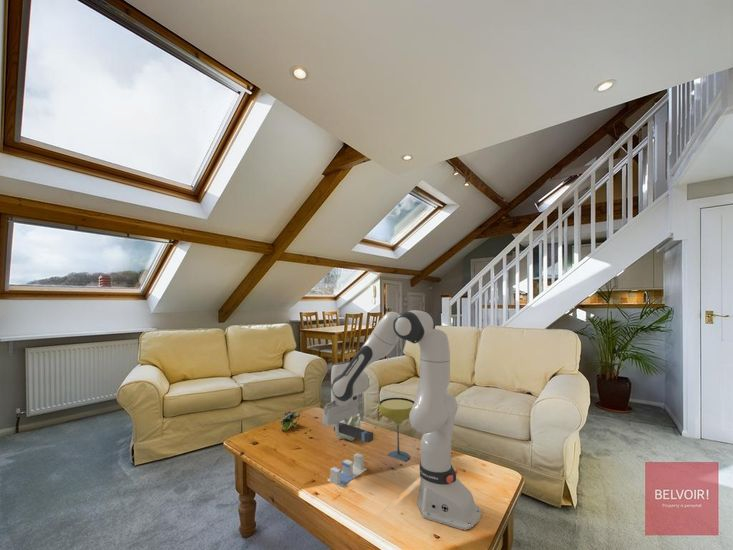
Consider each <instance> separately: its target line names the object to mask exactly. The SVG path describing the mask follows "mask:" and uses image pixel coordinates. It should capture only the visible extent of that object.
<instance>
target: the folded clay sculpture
mask: <svg viewBox="0 0 733 550" xmlns="http://www.w3.org/2000/svg"><path fill="white" fill-rule="evenodd" d="M343 422H344V420H342V421H340V423H343ZM347 425H350V426H353V427H356V428H360V429H361V416H360V413H357V414H356V415H354V416H351V417H349V420H348V423H347ZM334 433H335V435H336V438H338V439H341V440H348V441H350V442H353V441H355V440H356V438H354V437H351V436H348V435H345V434H342V433H339V432H336V431H334Z"/></svg>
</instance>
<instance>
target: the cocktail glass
mask: <svg viewBox="0 0 733 550" xmlns="http://www.w3.org/2000/svg"><path fill="white" fill-rule="evenodd" d="M414 402H415V400H412V399H409V398H405V397H388V398H385V399H382V400H380V401H379V403H378V410H379V411H378V412H379V413H380V414H381V416H383V417H384V418H386V419H388V420H391V421H392V422H393V423H394V425H396V427H397V431H396V432H397V434H396V435H397V437H396V438H397V439H396V440H397V442H396V443H397V446H396V447H397V448H396V450H393V451H390V452H388V453H387V456H388V457H391V458H394V459H396V460H399V461H401V462H404V461H405V462H407V461H409V460H410V458H411V456H410V454H409V453H408V452H406V451H403V450H400V438H399V437H400V436H399V435H400V433H399V430H400V428H399V427H400V425H401V424H402V422H403V421H406V420H410V419H409V414H410V411H411V409H412V407H413V405H414ZM408 459H409V460H408Z"/></svg>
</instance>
